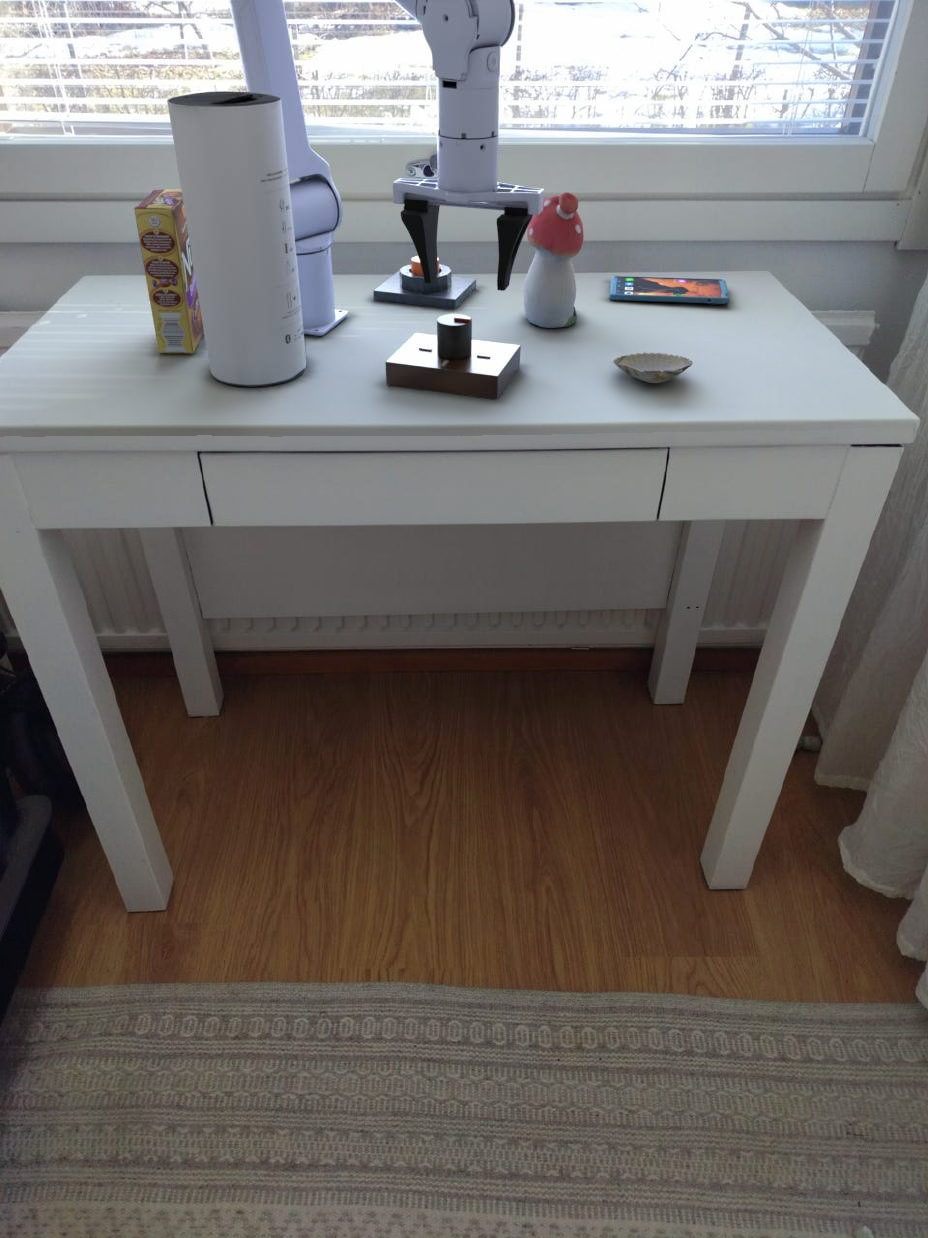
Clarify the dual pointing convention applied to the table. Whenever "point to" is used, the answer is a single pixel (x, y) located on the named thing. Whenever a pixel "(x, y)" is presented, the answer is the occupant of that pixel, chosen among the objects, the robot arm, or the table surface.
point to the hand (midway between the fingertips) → (466, 283)
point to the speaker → (241, 233)
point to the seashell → (653, 366)
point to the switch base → (425, 288)
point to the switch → (418, 266)
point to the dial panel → (453, 367)
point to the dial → (454, 336)
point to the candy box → (169, 271)
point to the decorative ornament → (553, 263)
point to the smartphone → (669, 290)
